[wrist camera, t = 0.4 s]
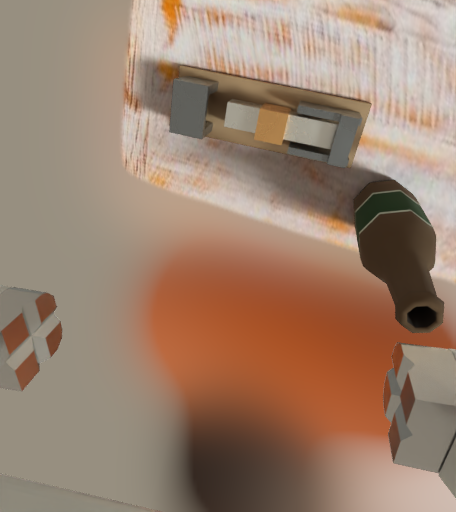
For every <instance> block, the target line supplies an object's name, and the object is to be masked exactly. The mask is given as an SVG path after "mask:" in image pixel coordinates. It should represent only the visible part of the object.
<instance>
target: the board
mask: <svg viewBox="0 0 456 512" xmlns="http://www.w3.org/2000/svg"><path fill="white" fill-rule="evenodd" d="M183 76H192V77H196V78H201V79H206V80H211V81H216V82H219V83H218V90H217V91H216V92H214V93H212V94H210V95H209V98H208V106H207V114H206V121H207V122H212V123H213V127H212V131H211V132H210V133H209V134H208V135H206V136H205V137H210V138H214V139H219V140H223V141H228V142H233V143H237V144H242V145H246V146H251V147H256V148H260V149H265V150H269V151H274V152H278V153H283V154H287V151H288V147H289V144H290V141H289V140H283V143H282V145H277V144H272V143H268V142H263V141H259V140H254V137H255V133H252V132H247V131H242V130H238V129H233V128H228V127H224V122H225V116H226V109H227V102H228V101H230V100H231V99H236V100H241V101H246V102H251V103H256V104H261V105H264V103H269V104H274V105H279V106H284V107H289V108H291V111H295V112H297V109H298V105H299V102H300V100H301V101H306V102H311V103H316V104H321V105H326V106H330V107H335V108H340V109H345V110H350V111H355V112H360V114H361V116H362V118H363V119H362V122H361V125H360V126H358V128H357V131H356V134H355V138H354V141H353V144H352V147H351V150H350V153H349V156H348V157H349V162H348V165H347V168H351V165H352V162H353V159H354V156H355V153H356V150H357V147H358V144H359V141H360V138H361V135H362V132H363V129H364V126H365V123H366V120H367V117H368V114H369V111H370V108H371V105H372V104H371V103H368V102H363V101H358V100H353V99H348V98H343V97H338V96H333V95H328V94H323V93H318V92H313V91H308V90H303V89H298V88H293V87H288V86H283V85H278V84H273V83H268V82H263V81H258V80H253V79H248V78H243V77H238V76H233V75H228V74H223V73H218V72H213V71H208V70H203V69H198V68H193V67H188V66H183V65H181V66H180V67H179V78H180V77H183ZM288 155H290V154H288ZM292 156H295V155H292ZM297 157H299V156H297ZM301 158H304V157H301ZM306 159H308V158H306ZM311 160H313V159H311ZM315 161H318V160H315ZM320 162H322V161H320ZM324 163H327V162H324Z"/></svg>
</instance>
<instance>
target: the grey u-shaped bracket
mask: <svg viewBox="0 0 456 512" xmlns="http://www.w3.org/2000/svg"><path fill="white" fill-rule="evenodd" d="M297 113H300V114H305V115H309V116H314V117H319V118H324V119H329V120H334V121H338V122H339V124H338V127H337V131H336V134H335V137H334V141H333V144H332V147H331V149H326V148H322V147H317V146H312V145H308V144H303V143H298V142H294V141H290V144H289V147H288V151H287V154H290V155H295V156H299V157H304V158H308V159H313V160H318V161H322V162H327V164H328V165H333V166H337V167H342V168H345V167H347V165H348V162H349V157H348V156H349V153H350V150H351V147H352V144H353V141H354V138H355V134H356V131H357V128H358V126H360V125H361V122H362V119H363V118H362V116H361V114H360V112H355V111H350V110H345V109H340V108H335V107H330V106H326V105H321V104H316V103H311V102H306V101H301V100H300V102H299V105H298V109H297Z"/></svg>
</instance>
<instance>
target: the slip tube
mask: <svg viewBox="0 0 456 512" xmlns="http://www.w3.org/2000/svg"><path fill="white" fill-rule="evenodd" d="M338 124H339V122H338V121H334V120H329V119H324V118H319V117H314V116H309V115H305V114H300V113H297V112H295V111H291V108H289V107H284V106H279V105H274V104H269V103H264V105H261V104H256V103H251V102H246V101H241V100H236V99H231V100H230V101H228V102H227V109H226V116H225V122H224V127H228V128H233V129H238V130H242V131H247V132H252V133H255V137H254V140H259V141H263V142H268V143H272V144H277V145H282V143H283V140H289V141H294V142H298V143H303V144H308V145H312V146H317V147H322V148H326V149H331V147H332V144H333V141H334V137H335V134H336V131H337V127H338Z"/></svg>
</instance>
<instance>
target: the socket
mask: <svg viewBox="0 0 456 512" xmlns="http://www.w3.org/2000/svg"><path fill="white" fill-rule="evenodd" d="M218 83H219V82H216V81H211V80H206V79H201V78H196V77H192V76H183V77H180V78H176V79H174V81H173V93H172V106H171V118H170V130H169V132H171V133H176V134H180V135H185V136H190V137H194V138H199V139H203V138H204V137H205V136H206V135H208V134H209V133H210V132H211V131H212V127H213V123H212V122H207V121H206V114H207V106H208V98H209V95H210V94H212V93H214V92H216V91H217V90H218Z"/></svg>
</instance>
